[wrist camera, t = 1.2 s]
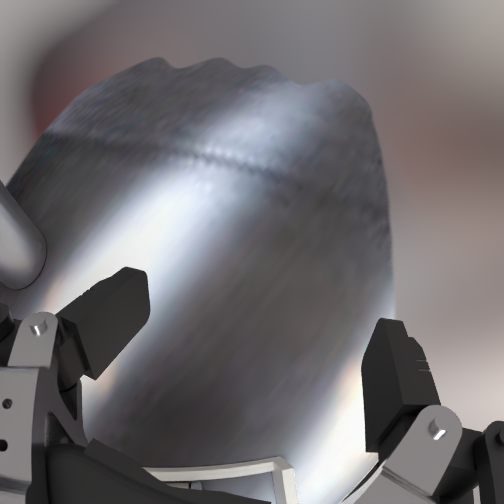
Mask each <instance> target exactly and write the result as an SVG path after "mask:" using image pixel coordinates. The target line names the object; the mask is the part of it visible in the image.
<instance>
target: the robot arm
mask: <svg viewBox="0 0 504 504" xmlns="http://www.w3.org/2000/svg"><path fill="white" fill-rule="evenodd" d="M45 259H46V242H45V239H44V237H43V235H42V234H41V232H40V231H39V230H38V229H37V228H36V227H35V225H34V224H33V223H32V222H31V220H30V219H29V218H28V216H27V215H26V214H25V213H24V211H23V210H22V209H21V208H20V206H19V205H18V204H17V202H16V201H15V200H14V198H13V197H12V196H11V194H10V193H9V191H8V190H7V189H6V187H5V186H4V184H3V183H2V182H1V180H0V282H1V283H3V284H4V285H6V286H7V287H9V288H11V289H17V290H18V289H23V288H25V287H27V286H28V285H30V284H31V283H32V282H33V281H34V280H35V279H36V278H37V276H38V275H39V273H40V272H41V270H42V268H43V265H44V262H45ZM149 315H150V300H149V290H148V279H147V274H146V272H145V271H142V270H138V269H134V268H130V267H124V268H122V269H121V270H120V271H118V272H117V273H115V274H114V275H113V276H111V277H109V278H106V279H104V280H101V281H99V282H98V283H96V284H95V285H94V286H92V287H91V288H90V290H87V291H86V292H84V293H83V294H82V296H81V295H80V296H79V297H78V298H76V299H75V300H74V301H72V302H71V303H70V304H68V305H67V306H66V307H64V308H63V309H62V310H61V311H59V312H58V313H57V314H55V315H54V314H52V313H49V312H38V313H34V314H32V315H30V316H28V317H27V318H25V319H24V320H23V321H21V320H16V319H13V318H12V316H11V313H10V310H9V308H8V306H7V305H5V304H2V303H0V504H271V502H268V501H262V500H257V499H252V498H247V497H242V496H238V495H233V494H229V493H225V492H220V491H206V490H195V489H187V488H179V487H173V486H169V485H167V484H165V483H163V482H162V481H160V480H159V479H157V478H156V477H155V476H153V475H152V474H150V473H149V472H148V471H146V470H145V469H144V468H142V467H141V466H140V465H138V464H137V463H136V462H134V461H133V460H132V459H131V458H129V457H128V456H125V455H123V454H121V453H119V452H117V451H116V450H114V449H112V448H110V447H108V446H106V445H104V444H103V443H101V442H99V441H97V440H95V439H94V438H93V439H92V440H91V442H90V443H89V444H88V442H87V439H86V436H85V434H84V430H83V420H82V384H81V381H80V378H81V376H82V375H83V374H84V375H86V376H88V377H90V378H92V379H94V380H97V378H98V377H99V376H100V375H101V374H102V373H103V371H104V370H105V369H106V368H107V367H108V366H109V365H110V363H111V362H112V361H113V360H114V359H115V358H116V357H117V355H118V354H119V353H120V352H121V351H122V350H123V349H124V347H125V346H126V345H127V344H128V343H129V342H130V341H131V340H132V338H133V337H134V336H135V335H136V334H137V333H138V332H139V331H140V330H141V328H142V327H143V326H144V325H145V324H146V322H147V321H148V318H149ZM429 370H430V368H429V366H428V362H426V357H425V354H424V352H423V349H422V347H421V346H420V345H419V344H418V343H417V341H416V340H415V339H414V338H413V337H408V335H407V332H406V329H405V327H404V324H403V322H402V321H399V320H392V319H385V318H380V319H379V320H378V322H377V324H376V327H375V329H374V332H373V334H372V337H371V339H370V342H369V344H368V346H367V349H366V351H365V353H364V356H363V360H362V366H361V375H362V386H363V399H364V416H365V441H366V452H375V453H378V458H379V460H378V461H377V462H376V463H375V464H374V466H373V467H372V468H371V469H370V470H369V471H368V473H367V474H366V475H365V476H364V477H363V478H362V479H361V480H360V481H359V483H358V484H357V485H356V486H355V487H354V488H353V489H352V490H351V491H350V492H349V493H348V494H347V495H346V496H345V497H344V498H343V499H342V500H341V501H340V502H339V503H338V504H474V497H473V489H474V488H475V487H477V486H478V485H479V491H480V501H481V504H504V422H503V421H495V422H492V423H491V424H490V425H489V426H488V427H487V428H486V429H485V430H484V431H483V432H479V431H474V430H471V429H466V428H463V427H462V425H461V422H460V419H459V418H458V416H457V415H456V414H455V413H454V412H453V411H451V410H450V409H449V408H447V407H444V406H441V403H440V400H439V396H438V393H437V390H436V386H435V383H434V380H433V377H432V374H431V372H429Z"/></svg>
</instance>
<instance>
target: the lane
mask: <svg viewBox="0 0 504 504" xmlns="http://www.w3.org/2000/svg"><path fill="white" fill-rule="evenodd" d="M142 468H144V469H145V470H146V471H148V472H149V473H150V474H152V475H153V476H155V477H156V478H157V479H159V480H160V481H194V480H210V479H221V478H230V477H238V476H246V475H252V474H258V473H264V472H269V471H272V476H273V483H274V490H275V496H276V503H277V504H299V503H298V495H297V487H296V480H295V472H294V467H292V466H291V465H290V464H289V463H288V462H287V461H285V460H284V459H283V458H282V457H281V456H278V457H273V458H267V459H262V460H256V461H249V462H243V463H235V464H226V465H216V466H204V467H185V468H146V467H142Z"/></svg>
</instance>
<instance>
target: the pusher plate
mask: <svg viewBox="0 0 504 504" xmlns="http://www.w3.org/2000/svg"><path fill="white" fill-rule="evenodd" d="M191 489H195V490H203V488H202V484H201V480H194V481H191Z"/></svg>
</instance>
